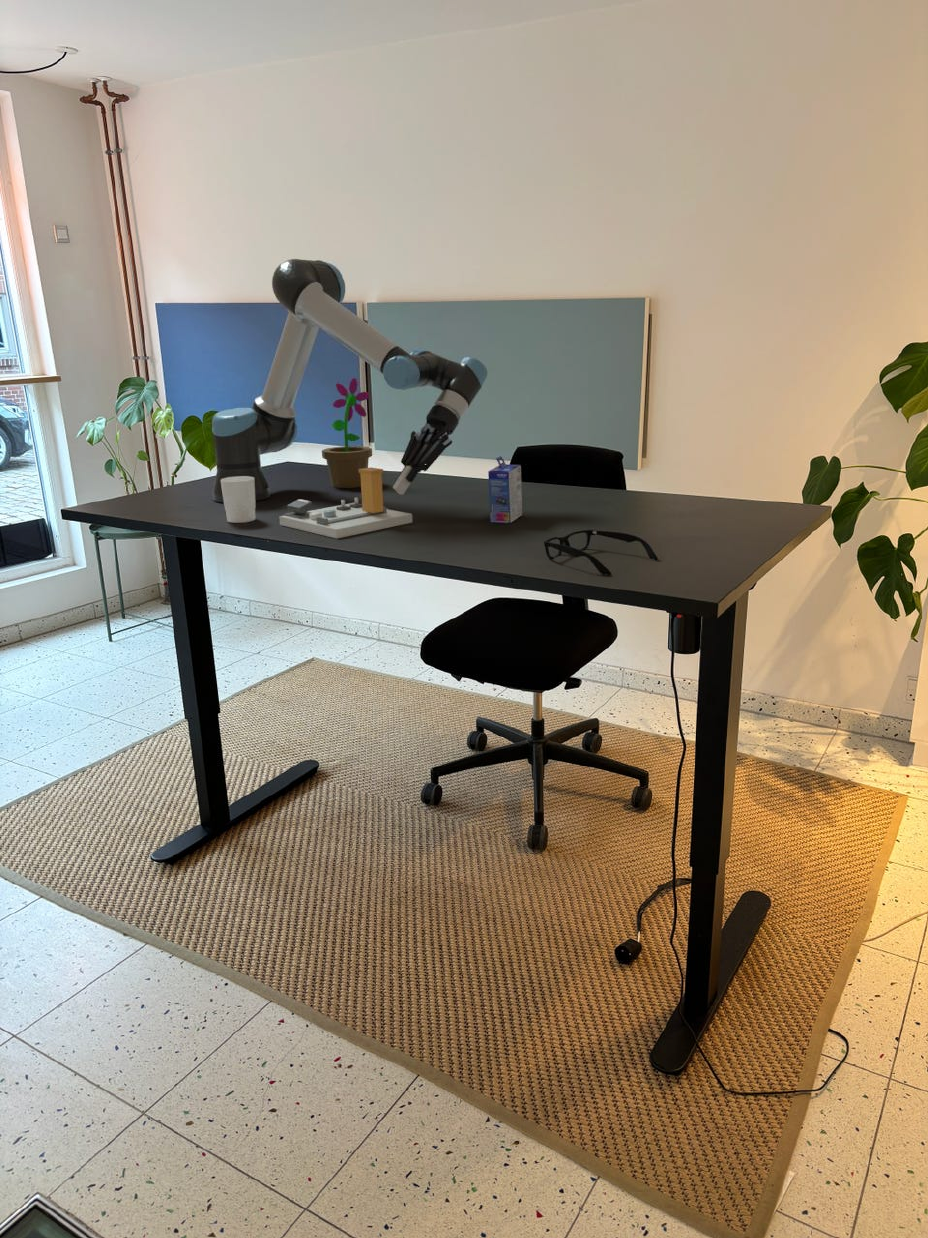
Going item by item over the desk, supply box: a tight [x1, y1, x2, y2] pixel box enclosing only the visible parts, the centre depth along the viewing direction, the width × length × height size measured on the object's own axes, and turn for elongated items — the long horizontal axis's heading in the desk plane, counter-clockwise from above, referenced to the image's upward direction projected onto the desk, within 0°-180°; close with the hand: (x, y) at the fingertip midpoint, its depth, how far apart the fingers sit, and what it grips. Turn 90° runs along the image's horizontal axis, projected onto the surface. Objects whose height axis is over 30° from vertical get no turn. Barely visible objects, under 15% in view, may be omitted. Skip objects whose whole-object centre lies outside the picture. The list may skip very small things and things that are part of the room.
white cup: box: [221, 476, 256, 524], centre depth 220 cm, size 8×8×10 cm
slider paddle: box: [358, 467, 384, 513], centre depth 213 cm, size 5×4×10 cm
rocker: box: [286, 498, 314, 513], centre depth 214 cm, size 5×4×2 cm
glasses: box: [543, 529, 659, 576], centre depth 177 cm, size 17×18×5 cm
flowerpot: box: [321, 377, 373, 489], centre depth 262 cm, size 14×14×30 cm
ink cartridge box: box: [487, 456, 523, 524], centre depth 214 cm, size 10×6×14 cm, turn 161°
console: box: [279, 497, 413, 539], centre depth 214 cm, size 22×22×4 cm
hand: (397, 490), depth 218 cm, fingers closed
